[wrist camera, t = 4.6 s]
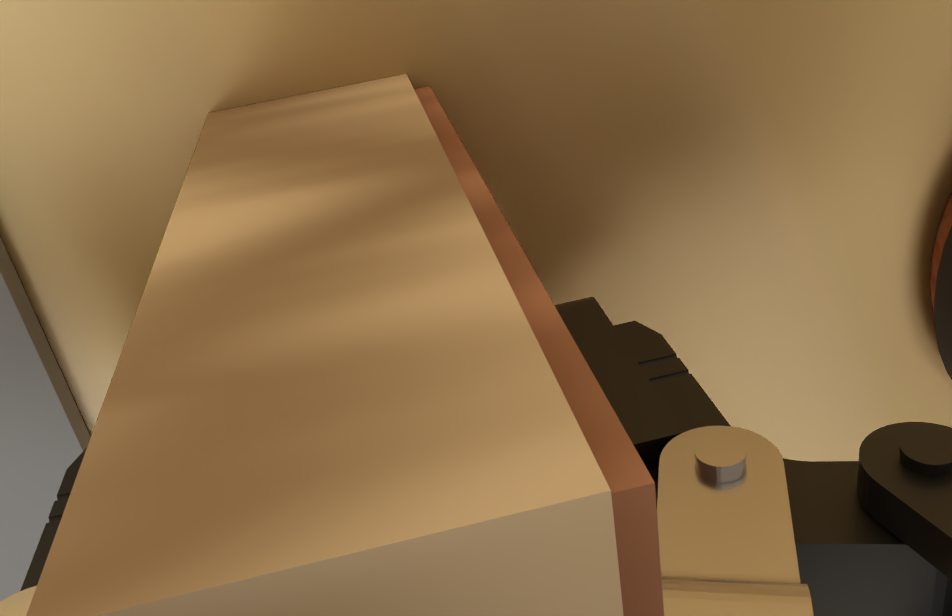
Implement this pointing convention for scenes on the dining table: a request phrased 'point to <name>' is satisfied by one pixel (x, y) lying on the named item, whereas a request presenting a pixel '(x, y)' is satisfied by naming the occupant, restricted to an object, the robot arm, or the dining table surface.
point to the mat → (29, 430)
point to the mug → (943, 287)
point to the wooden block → (350, 396)
